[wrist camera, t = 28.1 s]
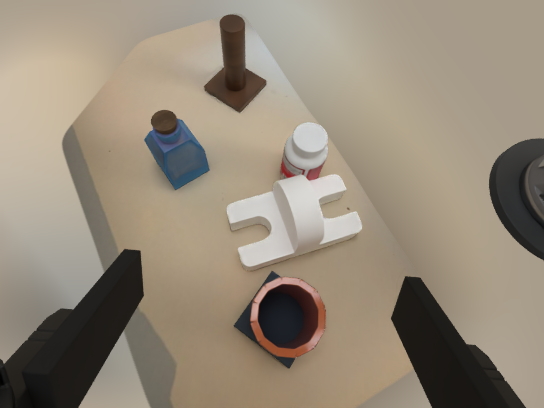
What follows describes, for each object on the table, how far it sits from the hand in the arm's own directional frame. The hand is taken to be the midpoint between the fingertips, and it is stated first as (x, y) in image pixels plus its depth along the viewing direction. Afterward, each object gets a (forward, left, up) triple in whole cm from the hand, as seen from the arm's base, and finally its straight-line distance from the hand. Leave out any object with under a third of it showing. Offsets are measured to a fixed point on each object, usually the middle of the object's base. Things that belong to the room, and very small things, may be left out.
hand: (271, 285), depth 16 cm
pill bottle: (+7, -21, -30) cm, 37 cm away
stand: (+26, -29, -29) cm, 49 cm away
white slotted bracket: (+3, -13, -30) cm, 33 cm away
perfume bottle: (+23, -11, -30) cm, 39 cm away
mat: (-3, -1, -29) cm, 30 cm away
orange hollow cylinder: (-3, -1, -29) cm, 29 cm away
